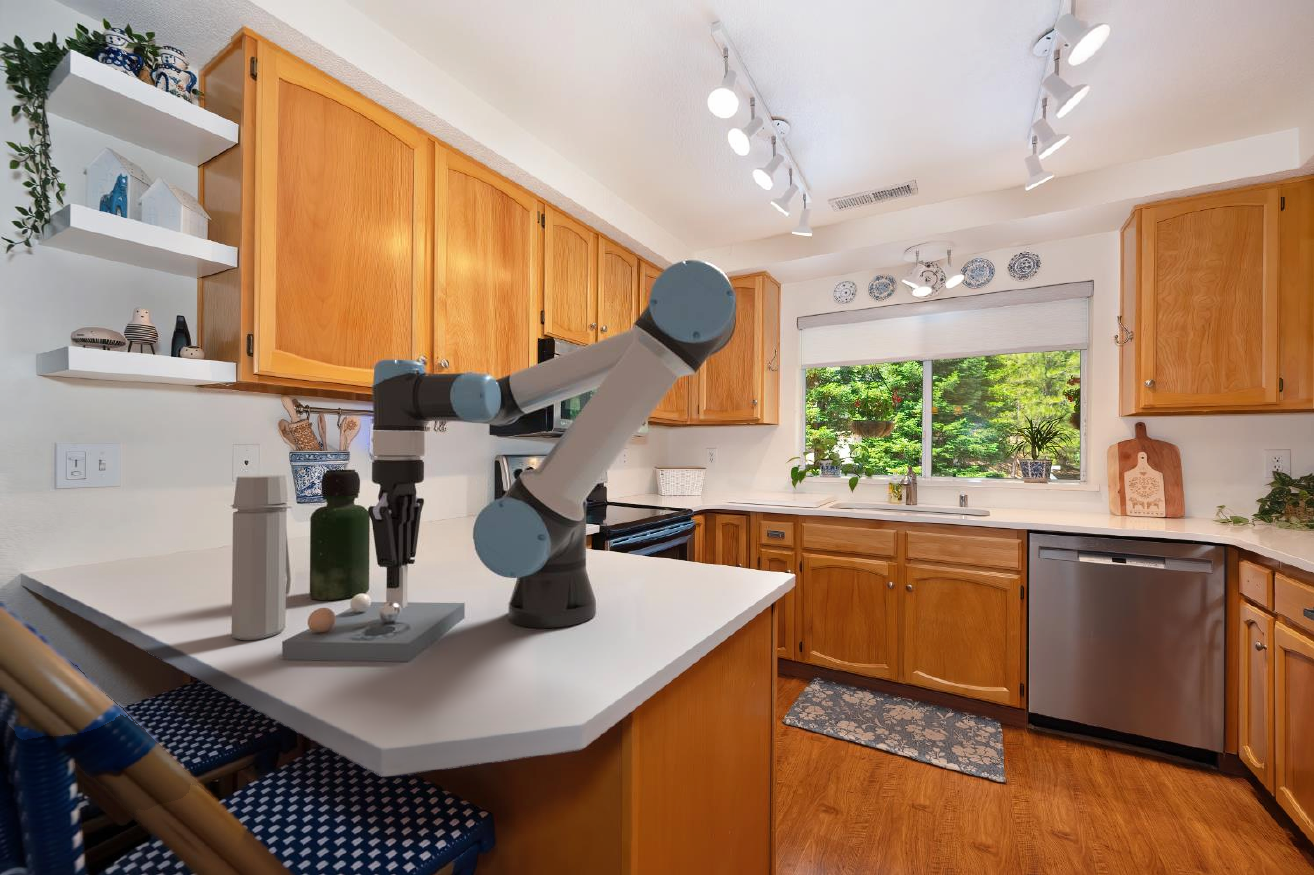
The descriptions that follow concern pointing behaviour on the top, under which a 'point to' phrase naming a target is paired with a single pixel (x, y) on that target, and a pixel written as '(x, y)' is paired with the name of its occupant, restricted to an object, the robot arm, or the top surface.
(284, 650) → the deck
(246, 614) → the water bottle
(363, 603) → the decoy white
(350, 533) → the green bottle
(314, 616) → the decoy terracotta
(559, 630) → the top surface
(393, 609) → the steel ball
